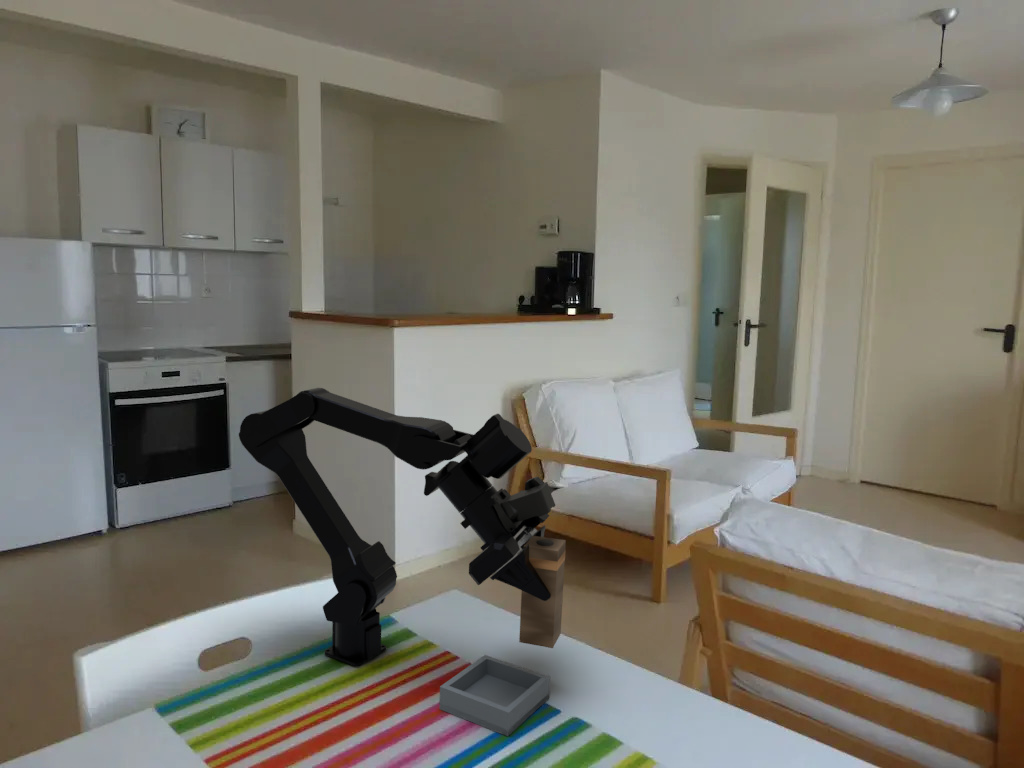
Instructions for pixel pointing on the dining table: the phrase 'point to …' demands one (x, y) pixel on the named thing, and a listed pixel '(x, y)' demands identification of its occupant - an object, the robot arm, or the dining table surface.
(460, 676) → the tray
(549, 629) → the block
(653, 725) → the dining table surface
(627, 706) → the dining table surface
